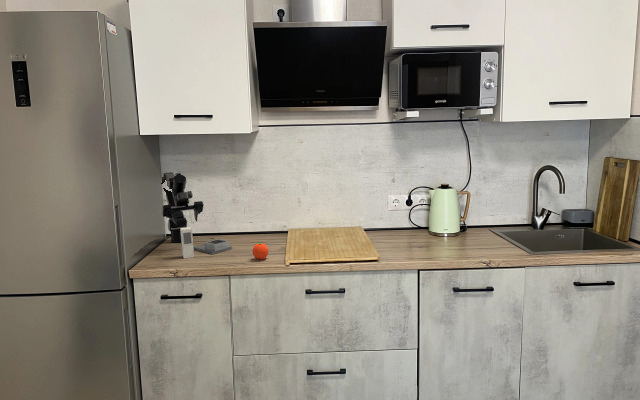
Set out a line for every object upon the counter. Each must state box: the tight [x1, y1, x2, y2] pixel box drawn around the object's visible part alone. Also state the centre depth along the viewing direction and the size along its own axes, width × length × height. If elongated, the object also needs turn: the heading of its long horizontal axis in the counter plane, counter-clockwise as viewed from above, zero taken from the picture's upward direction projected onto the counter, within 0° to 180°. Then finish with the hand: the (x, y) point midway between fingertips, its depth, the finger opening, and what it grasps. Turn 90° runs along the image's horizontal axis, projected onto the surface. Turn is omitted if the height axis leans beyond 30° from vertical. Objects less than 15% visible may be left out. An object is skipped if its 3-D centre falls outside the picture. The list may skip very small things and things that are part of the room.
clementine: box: [252, 242, 269, 260], centre depth 212 cm, size 8×7×7 cm
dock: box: [193, 238, 233, 255], centre depth 232 cm, size 16×11×4 cm
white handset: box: [180, 226, 195, 259], centre depth 220 cm, size 5×4×13 cm
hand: (186, 222), depth 227 cm, fingers open, 9 cm apart
